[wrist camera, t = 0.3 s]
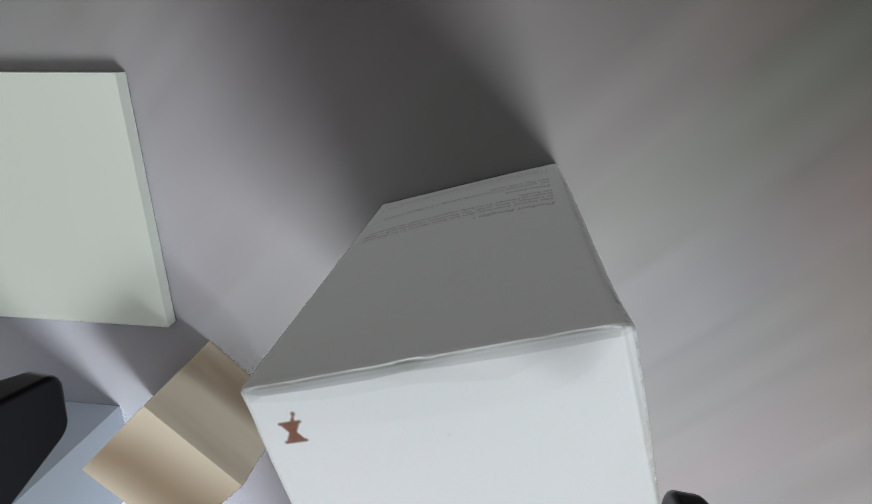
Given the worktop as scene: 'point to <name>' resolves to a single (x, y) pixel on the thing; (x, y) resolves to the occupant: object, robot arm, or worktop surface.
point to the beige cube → (185, 439)
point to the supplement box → (462, 361)
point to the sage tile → (76, 203)
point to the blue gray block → (75, 459)
